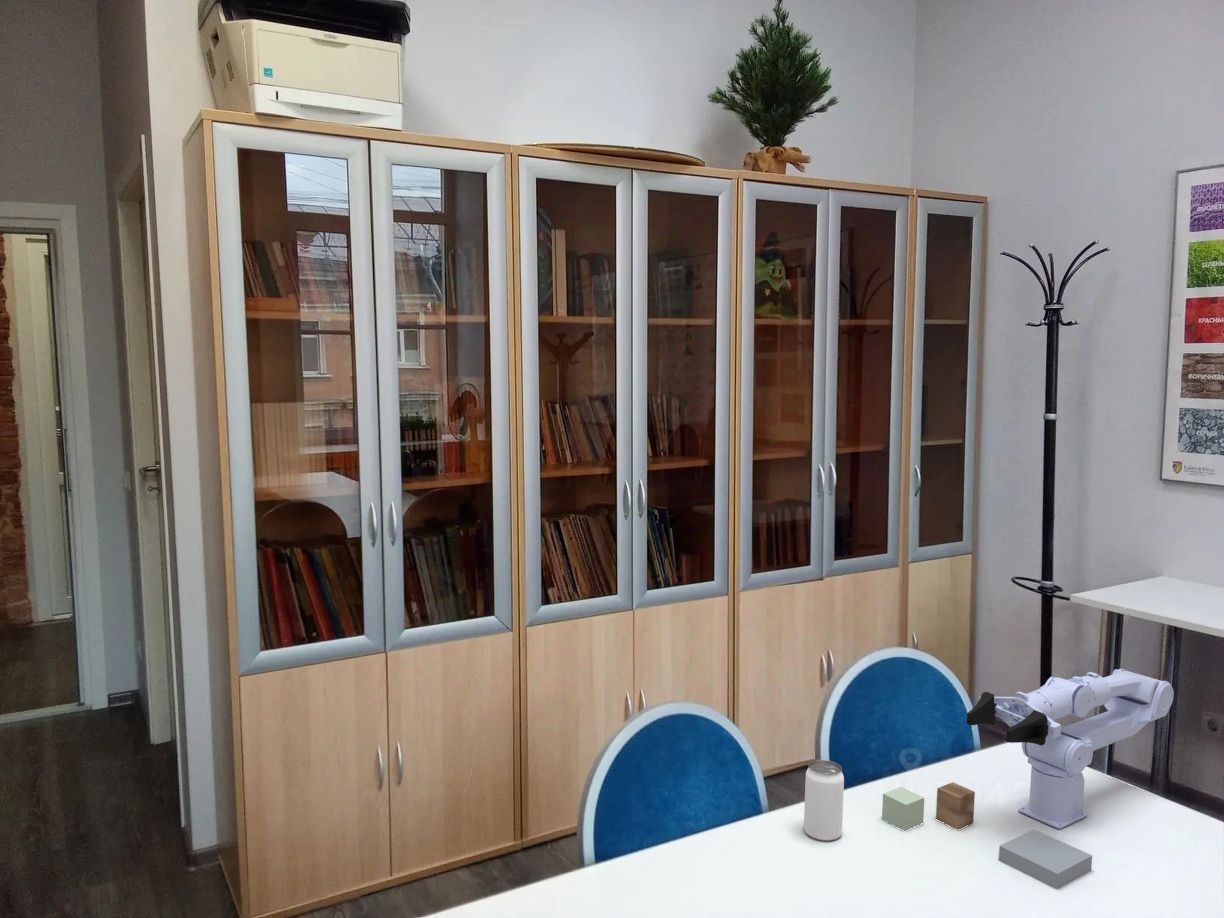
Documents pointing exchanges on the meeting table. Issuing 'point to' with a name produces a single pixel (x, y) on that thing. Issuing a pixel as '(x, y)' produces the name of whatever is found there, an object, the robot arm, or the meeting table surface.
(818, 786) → the can
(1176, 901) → the meeting table surface
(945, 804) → the walnut block
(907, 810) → the green cube
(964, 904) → the meeting table surface
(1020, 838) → the grey block
